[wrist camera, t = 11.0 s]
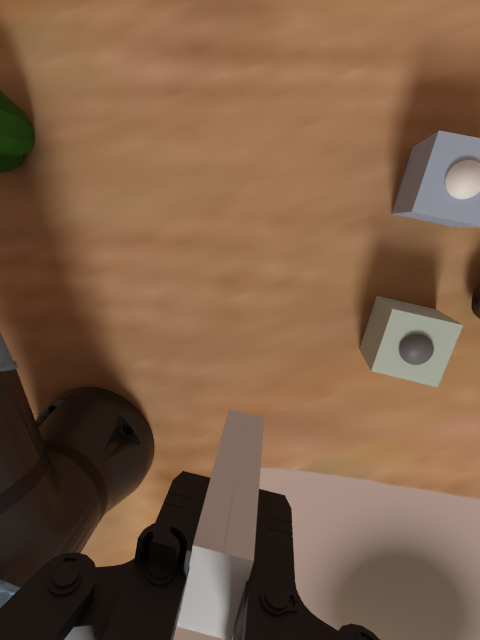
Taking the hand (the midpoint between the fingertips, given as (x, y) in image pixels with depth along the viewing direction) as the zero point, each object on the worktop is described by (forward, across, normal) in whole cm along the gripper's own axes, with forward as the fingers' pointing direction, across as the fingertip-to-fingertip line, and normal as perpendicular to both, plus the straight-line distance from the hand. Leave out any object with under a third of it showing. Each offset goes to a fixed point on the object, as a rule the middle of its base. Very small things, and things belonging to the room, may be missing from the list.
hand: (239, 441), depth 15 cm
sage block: (+24, -14, -1) cm, 28 cm away
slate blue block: (+24, -13, -15) cm, 31 cm away
